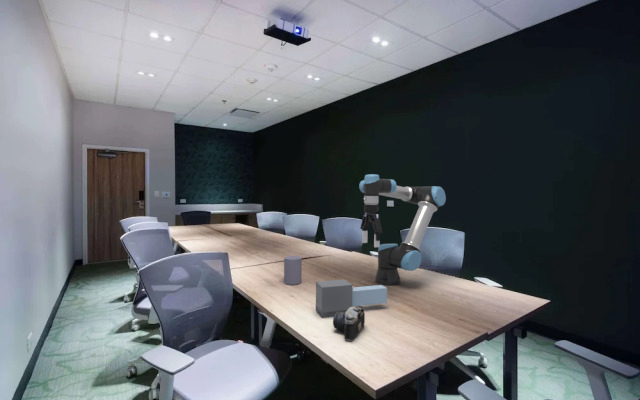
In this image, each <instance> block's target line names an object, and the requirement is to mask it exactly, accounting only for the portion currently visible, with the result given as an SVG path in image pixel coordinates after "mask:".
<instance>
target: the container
mask: <svg viewBox="0 0 640 400" xmlns="http://www.w3.org/2000/svg"><path fill="white" fill-rule="evenodd" d="M283 259H284V260H283V263H284V264H283V266H284V267H283V268H284V269H283V284H285V285H288V286H296V285H300V284H302V271H303V270H302V268H303V265H302V264H303V263H302V259H303V257H302V256H300V255H299V256H298V255H287V256H284V258H283Z"/></svg>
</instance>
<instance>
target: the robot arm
mask: <svg viewBox="0 0 640 400" xmlns="http://www.w3.org/2000/svg"><path fill="white" fill-rule="evenodd" d="M358 186H359V187H358V189H359V191H360V192H361V193H363V195H364V196H363V203H364V204H363V213H362V220H361V224H360V229H361V231H362V232H361V233H362V234H361V235H362V236H361V239H362V241H361V242H362V244H368V240H369V239H368V233H369V232H368V231H369V230H368V229H369V226H370V224H371V226H372V229H373V230H374V233H373V235H374V236H373V237H374V239H373V247H374V248H378V249H377V269H376V270H377V271H376V273H375V276H374V282H375V283H377V284H378V285H383V286H396V285H400V284H401V277H400V274H399V271H398V269H401V270H404V271H408V272H409V271H410V272H413V271H416V270H417V269H418V268H420V266H421V264H422V258H423V257H422V253H421V249H420V246H421V244H422V241H423V238H424V236H425V234H426V232H427V229H428V226H429V223H430V221H431V219H432V217H433V214H434V213H435V212H437V211H438V209H439V207H442V206H444V205H445V203H446V200H447V197H446V193H445V190H444V189H443V188H442V186H435V185H433V186H432V185H431V186H400V185H397V182H396V181H395V179H390V178H380V175H379V174H373V173H371V174H365V175H364V179H363V180H361V181H360V182H359V185H358ZM380 196H384V197H387V198H388V197H389V198H393V199H394V198H395V199H399V200H401V201H403V202H407V203H411V204H414V205H418V209H417V211H416V214H415V216H414V218H413V221H412V224H411V225H410V228H409V230H408V232H407V235H406V237H405V240H404V241H402V242H401V243H400V245H398V243H382V244H381V242H380V241H381V238H380V237H381V235H382V234H383V228H382V223H381V217H380V213H379V214H377V213H378V212H379V208H380V207H379V197H380Z"/></svg>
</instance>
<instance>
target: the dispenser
mask: <svg viewBox="0 0 640 400" xmlns="http://www.w3.org/2000/svg"><path fill="white" fill-rule="evenodd" d="M353 287H354V286H353V284H352V283H351V282H349V281H348V280H346V279H331V280H320V281H315V311H316V313H317V314H318V316H320V318H321V319H326V318H334V315H335V313H336V312H346V311H347V310H348V309H349V308H350V307H352V291H353Z"/></svg>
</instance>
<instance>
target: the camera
mask: <svg viewBox="0 0 640 400" xmlns="http://www.w3.org/2000/svg"><path fill="white" fill-rule="evenodd" d="M365 314H366V313H365V308H364V306H355V307H350V308H349V309H348V310H347V311H346V312H336V313H335V315H334V317H332V325H333V328H334V329H337V330H339V331H341V332H344V341H349V342H352V341H354V339H355V338H357V336H358V335H359V333H360V332H361V331H362V330H363V329H364V327H365V320H366V316H365Z"/></svg>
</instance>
